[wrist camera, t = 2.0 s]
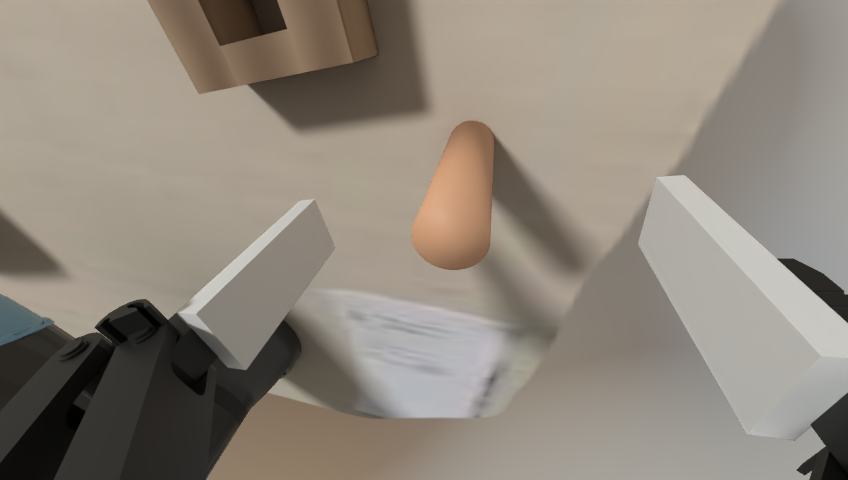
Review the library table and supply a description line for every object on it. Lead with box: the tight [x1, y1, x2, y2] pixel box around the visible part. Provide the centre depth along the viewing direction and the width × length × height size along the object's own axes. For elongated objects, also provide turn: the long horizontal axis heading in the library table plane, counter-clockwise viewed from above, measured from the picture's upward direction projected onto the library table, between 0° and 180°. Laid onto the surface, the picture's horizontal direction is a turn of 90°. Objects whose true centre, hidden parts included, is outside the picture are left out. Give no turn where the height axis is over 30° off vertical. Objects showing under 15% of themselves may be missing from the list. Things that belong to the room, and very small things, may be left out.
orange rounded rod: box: [411, 121, 494, 270], centre depth 16 cm, size 3×3×11 cm
